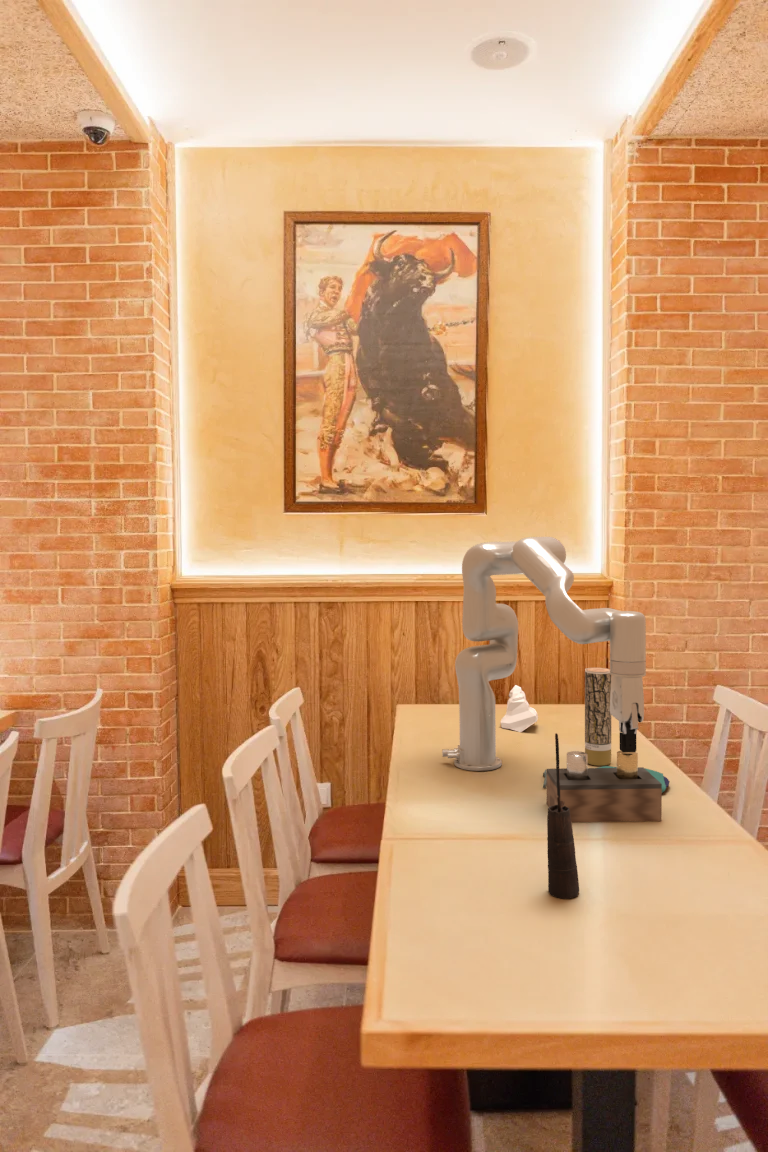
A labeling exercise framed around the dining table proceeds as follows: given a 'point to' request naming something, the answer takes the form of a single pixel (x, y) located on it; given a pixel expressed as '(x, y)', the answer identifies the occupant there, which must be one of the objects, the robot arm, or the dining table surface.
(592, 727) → the paper tube
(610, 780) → the peg block
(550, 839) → the butter churn
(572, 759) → the steel peg
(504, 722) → the soft serve ice cream
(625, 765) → the brass peg
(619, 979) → the dining table surface
